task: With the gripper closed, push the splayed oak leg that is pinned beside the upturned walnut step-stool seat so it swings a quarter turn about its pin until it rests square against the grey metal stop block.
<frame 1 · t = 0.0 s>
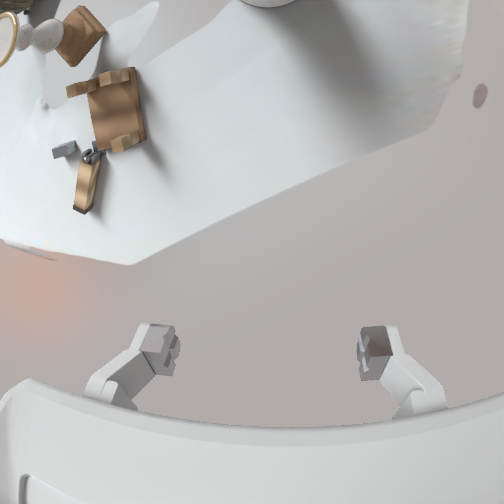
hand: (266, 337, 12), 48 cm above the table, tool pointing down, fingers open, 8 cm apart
hinged leg: (86, 181, 59), point 2 cm above the table, hinge at -30.0°
candle holder: (79, 35, 41), on the table
stool seat: (117, 108, 51), on the table
stop block: (68, 147, 56), on the table
hinge bracket: (96, 153, 57), on the table
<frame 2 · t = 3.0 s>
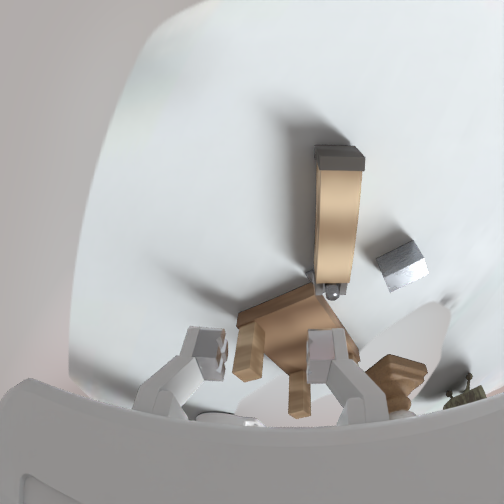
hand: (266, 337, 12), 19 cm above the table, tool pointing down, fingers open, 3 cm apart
tabletop clock: (455, 387, 50), on the table
hinged leg: (335, 226, 28), point 2 cm above the table, hinge at -30.0°
candle holder: (387, 374, 46), on the table
stool seat: (303, 333, 40), on the table
stop block: (398, 257, 32), on the table
hinge bracket: (327, 267, 33), on the table
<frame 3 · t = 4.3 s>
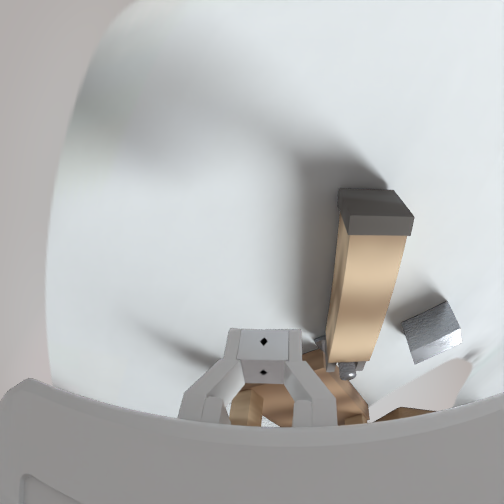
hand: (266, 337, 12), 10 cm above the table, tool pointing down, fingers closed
hinged leg: (358, 298, 20), point 2 cm above the table, hinge at -30.0°
candle holder: (396, 422, 38), on the table
stool seat: (307, 393, 33), on the table
stop block: (426, 319, 24), on the table
hinge bracket: (342, 333, 26), on the table
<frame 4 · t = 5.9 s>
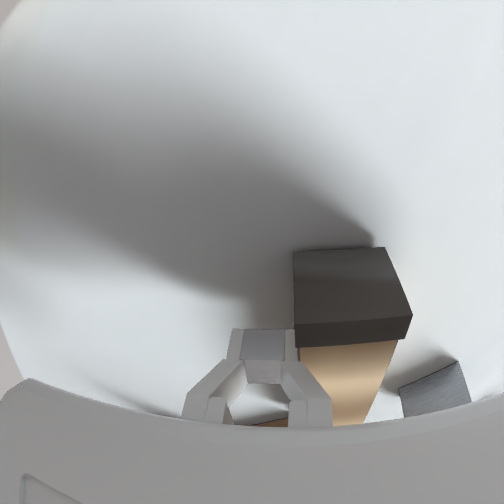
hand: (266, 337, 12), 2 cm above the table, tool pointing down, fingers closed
hinged leg: (332, 387, 14), point 2 cm above the table, hinge at -30.2°, touching gripper
stop block: (431, 381, 18), on the table
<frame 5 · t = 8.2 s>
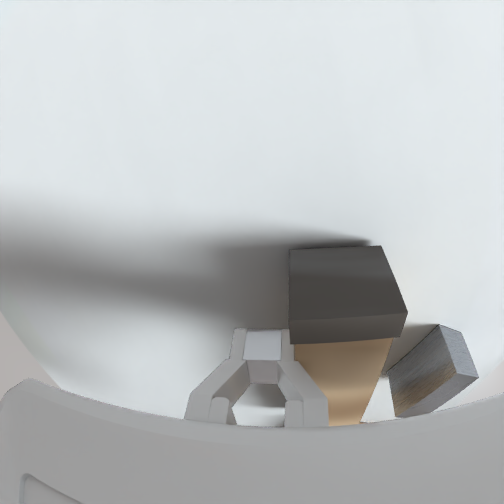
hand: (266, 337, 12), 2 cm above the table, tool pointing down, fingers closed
hinged leg: (329, 386, 14), point 2 cm above the table, hinge at -61.7°, touching gripper
stop block: (424, 353, 16), on the table
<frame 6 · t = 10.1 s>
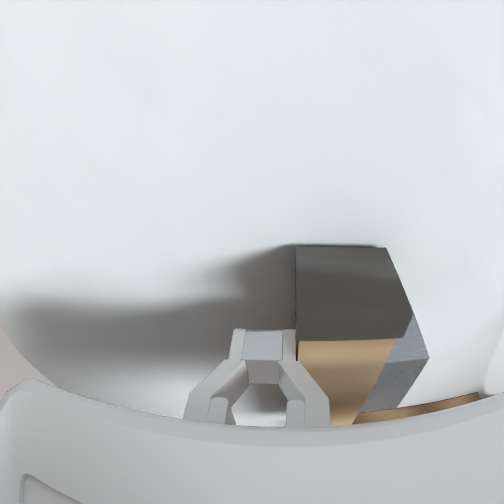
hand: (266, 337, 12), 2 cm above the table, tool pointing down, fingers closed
hinged leg: (324, 385, 14), point 2 cm above the table, hinge at -90.8°, touching gripper, stop block
stool seat: (390, 429, 23), on the table
stop block: (378, 336, 15), on the table
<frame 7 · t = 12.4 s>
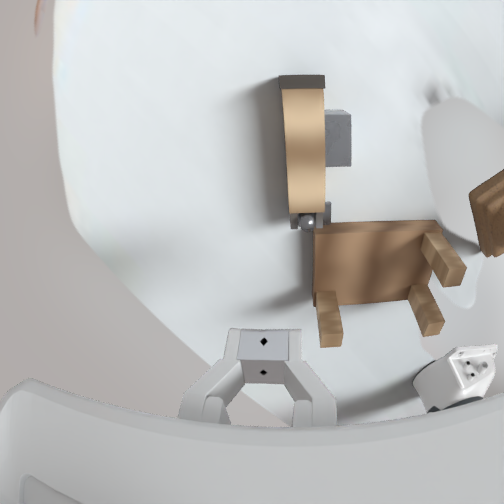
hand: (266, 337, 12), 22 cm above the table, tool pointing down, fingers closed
hinged leg: (304, 152, 27), point 2 cm above the table, hinge at -90.8°, touching stop block
candle holder: (501, 206, 29), on the table
stool seat: (373, 259, 36), on the table
stop block: (331, 133, 27), on the table
hinge bracket: (304, 204, 32), on the table
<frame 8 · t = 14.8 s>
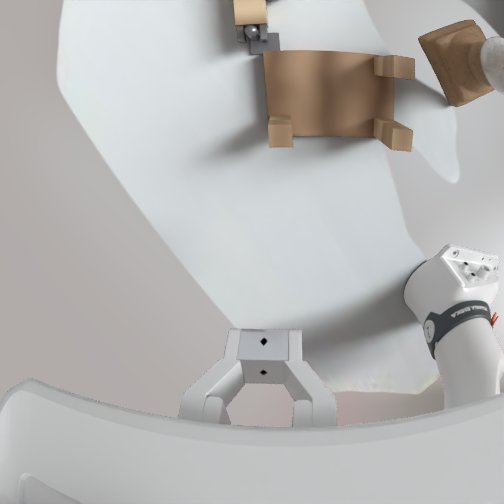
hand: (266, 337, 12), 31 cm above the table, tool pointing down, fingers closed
candle holder: (459, 61, 26), on the table
stool seat: (329, 92, 33), on the table
hinge bracket: (254, 35, 29), on the table
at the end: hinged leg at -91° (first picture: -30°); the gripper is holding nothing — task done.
